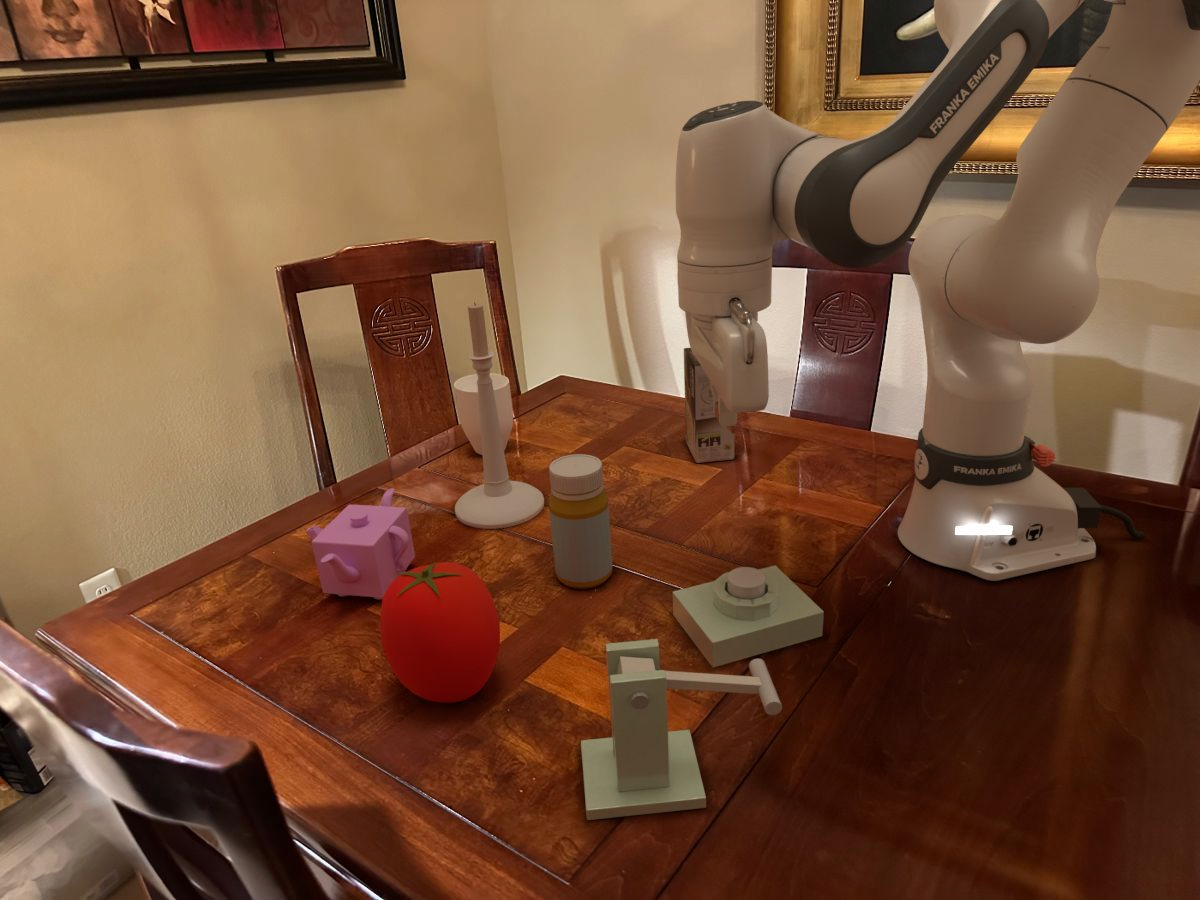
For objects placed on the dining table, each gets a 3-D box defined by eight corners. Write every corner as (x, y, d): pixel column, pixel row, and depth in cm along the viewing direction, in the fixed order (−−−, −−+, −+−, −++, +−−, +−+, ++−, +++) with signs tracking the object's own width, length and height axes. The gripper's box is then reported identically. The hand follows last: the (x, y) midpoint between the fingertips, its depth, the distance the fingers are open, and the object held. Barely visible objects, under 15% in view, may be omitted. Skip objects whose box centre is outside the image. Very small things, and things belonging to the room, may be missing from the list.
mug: (509, 461, 135) (501, 391, 130) (456, 460, 136) (446, 391, 131) (525, 432, 145) (518, 366, 141) (476, 432, 147) (467, 366, 142)
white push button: (753, 576, 93) (753, 563, 92) (772, 595, 89) (772, 581, 88) (721, 585, 92) (720, 571, 91) (738, 604, 88) (738, 590, 87)
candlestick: (553, 487, 126) (534, 289, 113) (532, 530, 114) (509, 315, 102) (471, 485, 128) (444, 290, 116) (442, 527, 116) (409, 316, 104)
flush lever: (761, 676, 73) (767, 654, 72) (778, 720, 68) (785, 697, 67) (613, 666, 72) (617, 643, 71) (620, 711, 67) (624, 687, 66)
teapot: (353, 541, 114) (339, 477, 110) (443, 547, 111) (433, 482, 107) (280, 620, 98) (261, 548, 94) (383, 630, 95) (369, 556, 91)
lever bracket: (689, 739, 77) (687, 624, 72) (706, 808, 70) (705, 686, 65) (581, 750, 77) (571, 635, 72) (586, 820, 70) (575, 699, 64)
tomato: (366, 689, 86) (340, 572, 80) (451, 634, 94) (433, 523, 88) (446, 743, 79) (425, 618, 73) (531, 678, 86) (518, 560, 80)
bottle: (606, 593, 99) (599, 479, 93) (549, 589, 101) (538, 477, 95) (617, 561, 106) (610, 453, 99) (563, 558, 107) (553, 451, 101)
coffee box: (736, 459, 130) (737, 361, 124) (695, 464, 130) (694, 365, 123) (721, 436, 139) (722, 343, 132) (683, 440, 138) (681, 346, 132)
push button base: (774, 588, 98) (775, 551, 96) (822, 636, 90) (825, 597, 88) (672, 615, 95) (671, 577, 93) (712, 668, 86) (712, 628, 84)
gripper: (788, 312, 71) (784, 460, 77) (733, 262, 89) (733, 384, 95) (714, 319, 71) (716, 467, 76) (674, 267, 89) (678, 389, 95)
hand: (725, 420), depth 86 cm, fingers closed
